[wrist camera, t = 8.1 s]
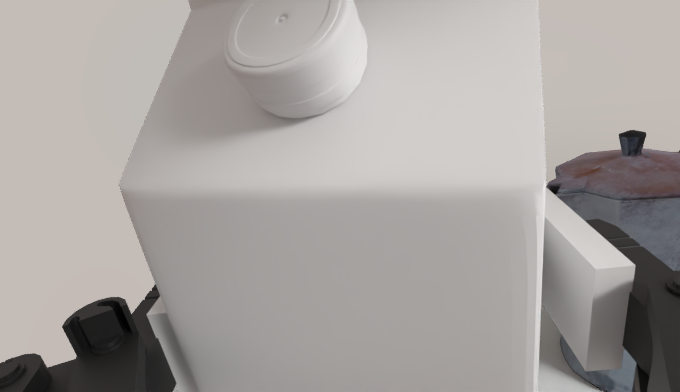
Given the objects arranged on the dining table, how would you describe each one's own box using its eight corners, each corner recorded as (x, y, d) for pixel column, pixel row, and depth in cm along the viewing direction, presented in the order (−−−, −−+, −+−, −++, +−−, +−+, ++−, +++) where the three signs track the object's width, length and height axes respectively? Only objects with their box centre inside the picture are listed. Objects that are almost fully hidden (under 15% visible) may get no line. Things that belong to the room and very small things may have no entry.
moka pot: (506, 339, 38) (507, 133, 31) (651, 301, 40) (685, 97, 33) (579, 427, 30) (604, 170, 22) (761, 374, 31) (841, 118, 24)
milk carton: (352, 423, 19) (260, -31, 12) (517, 460, 16) (525, -96, 9) (282, 618, 13) (14, -63, 6) (524, 725, 10) (565, -273, 3)
